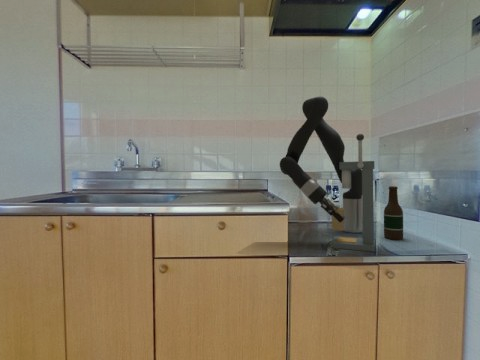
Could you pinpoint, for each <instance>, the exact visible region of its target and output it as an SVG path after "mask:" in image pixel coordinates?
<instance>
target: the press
mask: <svg viewBox="0 0 480 360" xmlns="http://www.w3.org/2000/svg"><path fill="white" fill-rule="evenodd" d="M355 138H356V140H357V143H358V144H357V147H358V149H357V150H358V156H357V157H358V159H357V160H358V161H344V162H339V168H340V170H342V183H341V189H343V190H344V189H348V190H350V188H351V169H361V170H362V237H354V236H353V237H351V236H350V237H349V236H341V235H340V236H339V235H334V237H333V240H332V241H331V248H333V249H342V250H343V249H344V250H354V251H363V252H372V253H373V252H374V253H376V240H375V235H374V234H375V233H374V232H375V231H374V229H375V227H374V223H375V222H374V215H375V214H374V212H375V211H374V169H375V160H364V161H363V140H364V139H365V135H364V134H363V133H358V134H356V137H355Z"/></svg>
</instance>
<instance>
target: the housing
mask: <svg viewBox="0 0 480 360" xmlns="http://www.w3.org/2000/svg"><path fill="white" fill-rule="evenodd" d="M335 206H336V208H334V209H335V210H336V211H337V213H338V214H339V215H340V216H342V217H343V218H344V208H343V207H340V205H339V204H337V205H335ZM343 229H344V220H343V221H342V222H339V221H338V220H337V219H336V218H335V217H334V216H331V231H340V232H341V231H343ZM343 232H344V231H343Z"/></svg>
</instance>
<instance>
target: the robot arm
mask: <svg viewBox="0 0 480 360" xmlns="http://www.w3.org/2000/svg"><path fill="white" fill-rule="evenodd" d="M301 108H302V109H301V110H302V113H303V115H304V117H305V118H306V119H305V122H303V124H302V125H301V127H300V128H299V129H298V130H297V131H296V132H295V133H294V136H293V137H292V139H291V141H290V143H289V145H288V147H287V149H286V150H287V152H286V154H285V156H284V157H282V158H281V159H280V161H279V169H280V171H281V173H282V174H283V175H287V176H288V177H289V178H290V179H291V180H292V182H293V184H294V185H295V186H296V187H297V188H299V190H300V191H301V193H303V194H304V196H306V198H307V199H308V200H309V201H310V202H312V203H313V204H314V205H317V204H318V203H319V204H320V208H321V209H323V210H324V211H325V212H326V213H327V214H329V216H331V217H332V216H334V217H335V218H336V219H337V220H338V221H339V222H342V221H343V220H344V229H343V232H346V233H354V234H355V233H363V225H362V169H351V188H350V189H348V190H346V191H345V192H343V193H342V208H344V218H343V217H342V216H340V215H339V214H338V213H337V211H336V210H335V209H334V208H336V205H335V204H334V203H333V202H332V200H330V199H329V198H326V197H325V196H326V195H327V194H328V192H327V191H326V190H325V189H324V188H323V187H322V186H321V185H320V184H319V183H318V182H316V180H314V179H313V178H312V177H311V176H310V175H309V174H308V173H307V172H305V171H304V170H303V168H302V167H301V166H300V165H299V160H300V158H301V156H302V155H303V153H304V150H305V148H306V146H307V145H308V142H309V140H310V138H311V137H312V134H313V133H314V132H315V134H316V135H317V137H318V139H319V141H320V143H321V145H322V146H323V149H324V150H325V152H326V154H327V155H328V157H329V159H330V161H331V163H332V165H333V167H334V170H335V173H336V175H337V177H338V180H339V181H340V183H341V184H342V170H340V168H339V162H345V160H344V156H345V143H344V142H343V141H344V140H342V137H341V135H340V134H339V132H337V130H335V128H334V127H332V126H331V125H329V124H328V123H327V122H326V120H325V119H324V117H325V115H326V114H327V112H328V110H329V102H328V99H327V98H326V97H325V96H322V95H319V96H315V97H312V98H309V99H306V100H304V101H303V103H302V107H301Z"/></svg>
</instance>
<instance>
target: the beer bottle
mask: <svg viewBox="0 0 480 360" xmlns="http://www.w3.org/2000/svg"><path fill="white" fill-rule="evenodd" d="M398 197H399V196H398V186H395V185H393V186H388V202H387V204H386V205H385V206H384V209H383V237H384V238H385V239H387V240H390V241H391V240H392V241H401V240H403V239H404V211H403V208H402V207H401V205H400V204H399V198H398Z"/></svg>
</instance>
